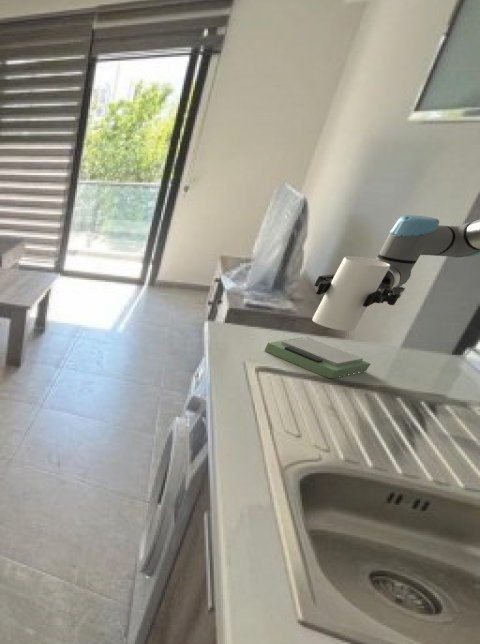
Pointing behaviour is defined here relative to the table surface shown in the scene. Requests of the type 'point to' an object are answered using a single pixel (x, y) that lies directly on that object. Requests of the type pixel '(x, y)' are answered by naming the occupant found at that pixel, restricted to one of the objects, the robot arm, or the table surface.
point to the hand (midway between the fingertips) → (343, 294)
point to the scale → (317, 357)
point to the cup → (350, 292)
